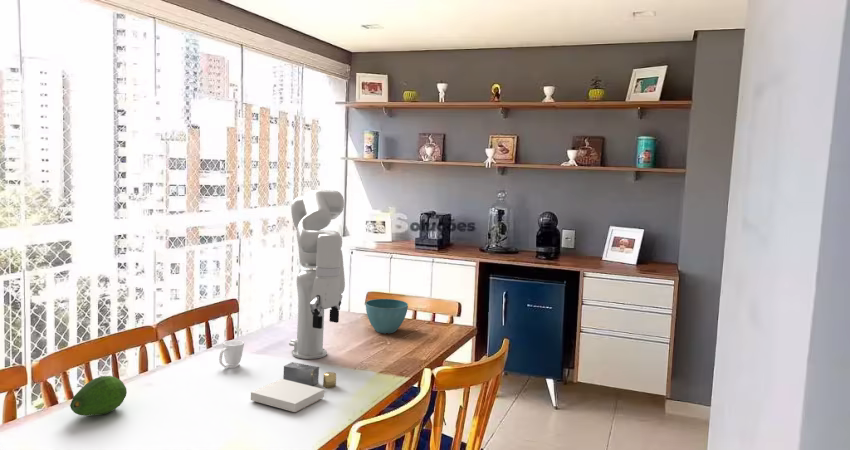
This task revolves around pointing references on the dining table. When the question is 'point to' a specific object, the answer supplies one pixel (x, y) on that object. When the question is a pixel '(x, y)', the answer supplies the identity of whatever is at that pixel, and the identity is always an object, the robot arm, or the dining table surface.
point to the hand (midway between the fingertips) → (325, 325)
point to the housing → (301, 373)
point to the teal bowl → (386, 314)
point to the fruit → (99, 396)
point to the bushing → (329, 380)
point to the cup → (232, 353)
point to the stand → (287, 395)
